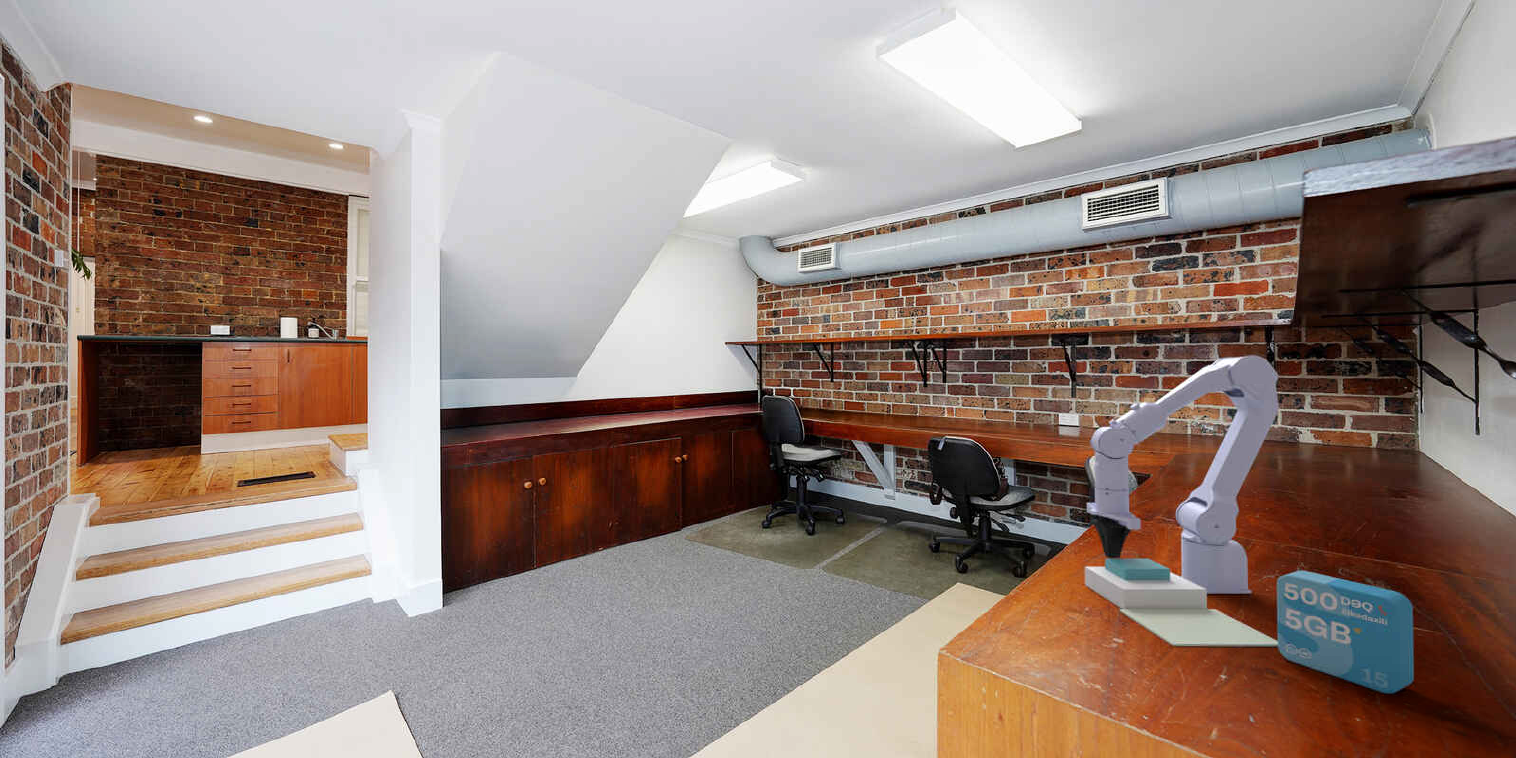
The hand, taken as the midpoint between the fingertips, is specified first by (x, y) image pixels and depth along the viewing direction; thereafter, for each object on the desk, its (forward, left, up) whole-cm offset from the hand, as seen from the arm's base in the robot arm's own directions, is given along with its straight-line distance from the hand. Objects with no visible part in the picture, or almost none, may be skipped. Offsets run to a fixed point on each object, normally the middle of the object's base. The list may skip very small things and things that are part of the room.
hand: (1112, 557), depth 113 cm
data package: (-9, +36, -5) cm, 37 cm away
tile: (0, +7, -1) cm, 8 cm away
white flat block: (0, +9, -4) cm, 10 cm away
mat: (0, +22, -4) cm, 22 cm away
